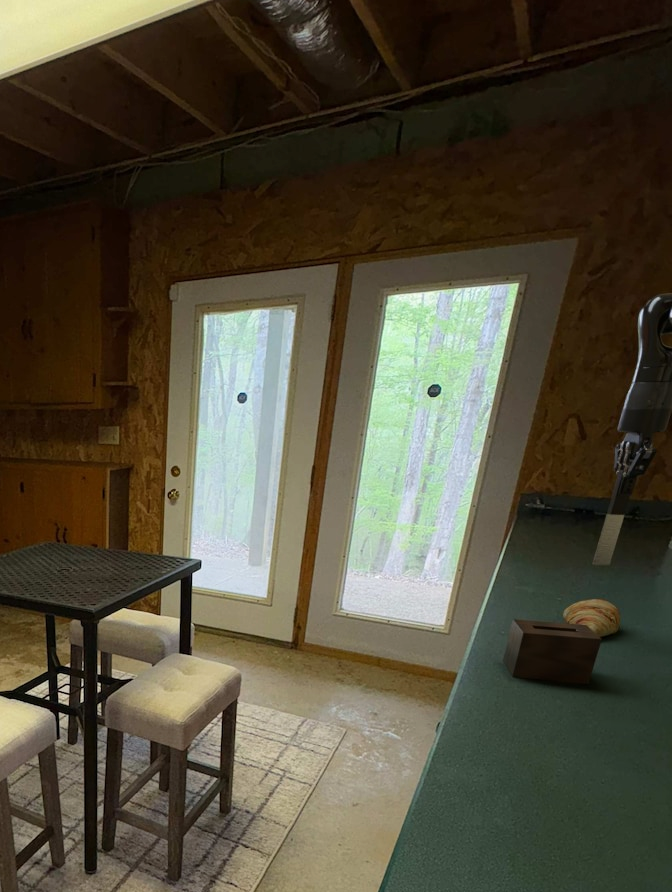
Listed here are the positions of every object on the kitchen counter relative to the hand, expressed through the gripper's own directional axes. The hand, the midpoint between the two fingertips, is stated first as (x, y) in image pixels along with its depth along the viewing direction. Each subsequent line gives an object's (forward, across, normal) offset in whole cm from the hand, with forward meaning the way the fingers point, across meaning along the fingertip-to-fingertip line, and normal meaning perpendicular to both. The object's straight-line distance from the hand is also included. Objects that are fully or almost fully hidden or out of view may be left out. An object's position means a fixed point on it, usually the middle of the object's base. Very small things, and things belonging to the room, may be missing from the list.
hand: (621, 494), depth 131 cm
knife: (+15, 0, 0) cm, 15 cm away
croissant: (+31, +2, -2) cm, 31 cm away
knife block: (+30, -30, +15) cm, 45 cm away
